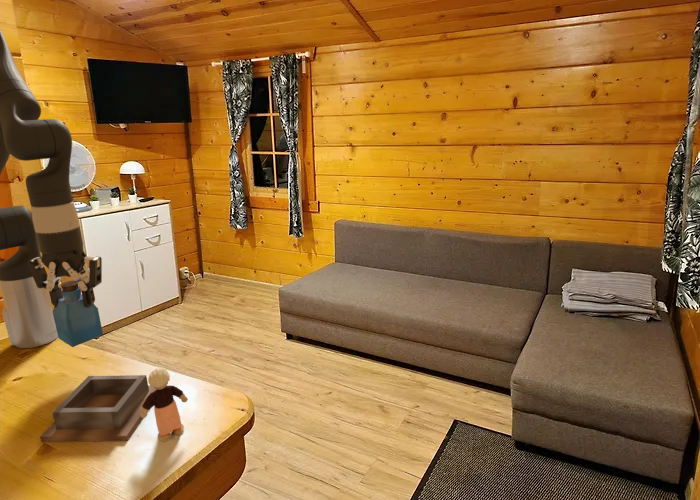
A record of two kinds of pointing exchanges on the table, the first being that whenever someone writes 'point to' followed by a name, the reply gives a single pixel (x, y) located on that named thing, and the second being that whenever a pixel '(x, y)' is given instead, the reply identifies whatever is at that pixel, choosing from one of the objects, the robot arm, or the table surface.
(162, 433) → the grandmother figurine
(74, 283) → the perfume bottle
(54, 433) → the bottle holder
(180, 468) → the table surface
